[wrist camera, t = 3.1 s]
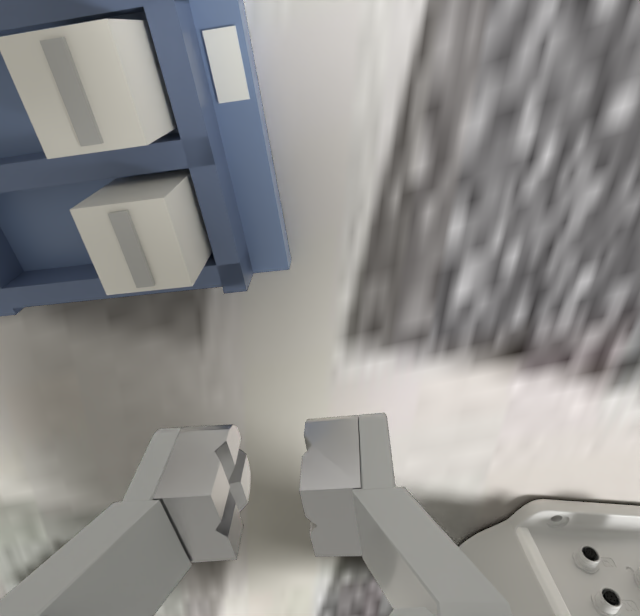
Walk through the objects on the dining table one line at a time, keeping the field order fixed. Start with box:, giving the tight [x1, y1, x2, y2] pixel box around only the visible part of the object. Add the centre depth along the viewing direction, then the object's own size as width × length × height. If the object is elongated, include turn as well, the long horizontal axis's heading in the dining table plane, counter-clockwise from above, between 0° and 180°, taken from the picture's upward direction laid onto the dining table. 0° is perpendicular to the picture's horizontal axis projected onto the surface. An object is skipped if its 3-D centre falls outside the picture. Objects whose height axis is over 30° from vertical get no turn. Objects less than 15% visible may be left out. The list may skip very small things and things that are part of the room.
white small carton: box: [0, 19, 177, 159], centre depth 18 cm, size 4×4×5 cm
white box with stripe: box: [70, 169, 212, 295], centre depth 21 cm, size 4×4×5 cm
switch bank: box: [0, 0, 291, 316], centre depth 20 cm, size 18×20×3 cm
